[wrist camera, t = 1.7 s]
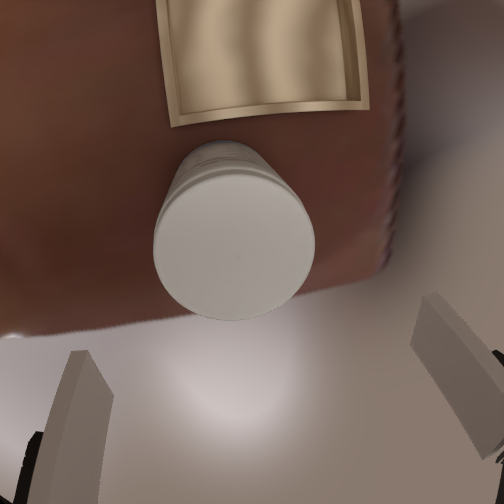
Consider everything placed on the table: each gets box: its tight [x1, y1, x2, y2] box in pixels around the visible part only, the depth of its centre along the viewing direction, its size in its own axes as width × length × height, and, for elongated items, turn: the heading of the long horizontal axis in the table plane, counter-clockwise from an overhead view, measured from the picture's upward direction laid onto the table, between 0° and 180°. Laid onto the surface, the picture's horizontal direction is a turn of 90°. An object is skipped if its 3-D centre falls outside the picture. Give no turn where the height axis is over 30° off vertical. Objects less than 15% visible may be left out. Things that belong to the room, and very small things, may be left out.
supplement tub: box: [153, 140, 315, 321], centre depth 24 cm, size 10×10×15 cm
